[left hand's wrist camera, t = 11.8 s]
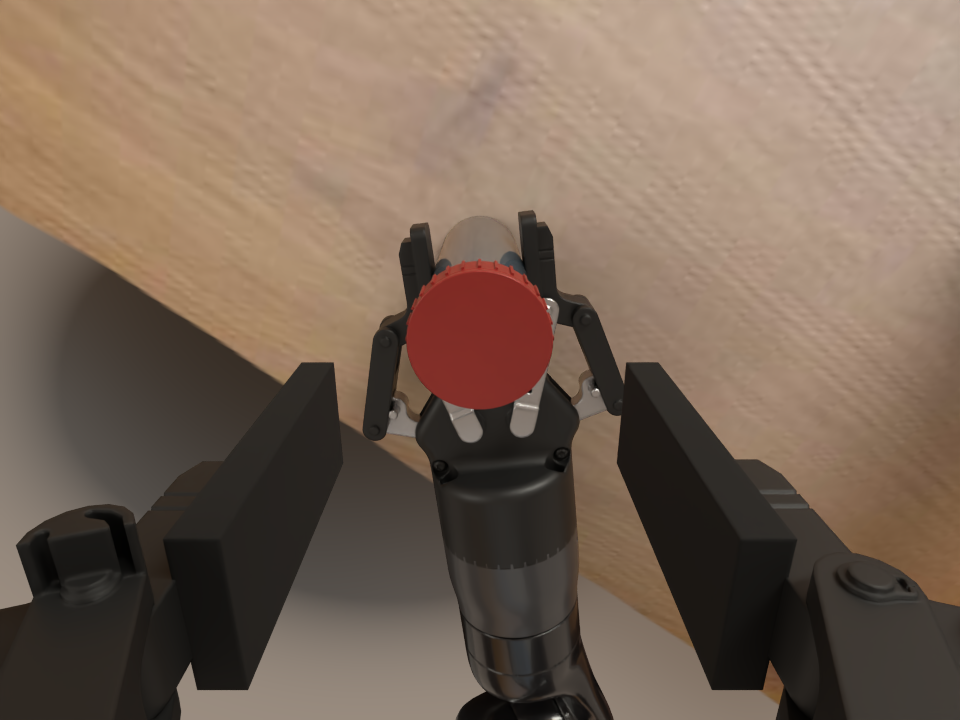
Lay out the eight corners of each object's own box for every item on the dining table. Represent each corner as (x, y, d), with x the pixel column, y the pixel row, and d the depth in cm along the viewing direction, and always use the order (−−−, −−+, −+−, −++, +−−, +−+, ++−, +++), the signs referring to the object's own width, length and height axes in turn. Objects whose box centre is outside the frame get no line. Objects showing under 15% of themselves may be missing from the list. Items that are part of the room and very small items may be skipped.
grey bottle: (430, 231, 33) (394, 300, 19) (503, 204, 33) (521, 256, 19) (457, 301, 35) (441, 413, 21) (527, 276, 34) (560, 375, 20)
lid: (387, 286, 20) (380, 298, 19) (524, 238, 20) (528, 246, 18) (439, 408, 22) (436, 429, 20) (566, 367, 21) (573, 385, 20)
